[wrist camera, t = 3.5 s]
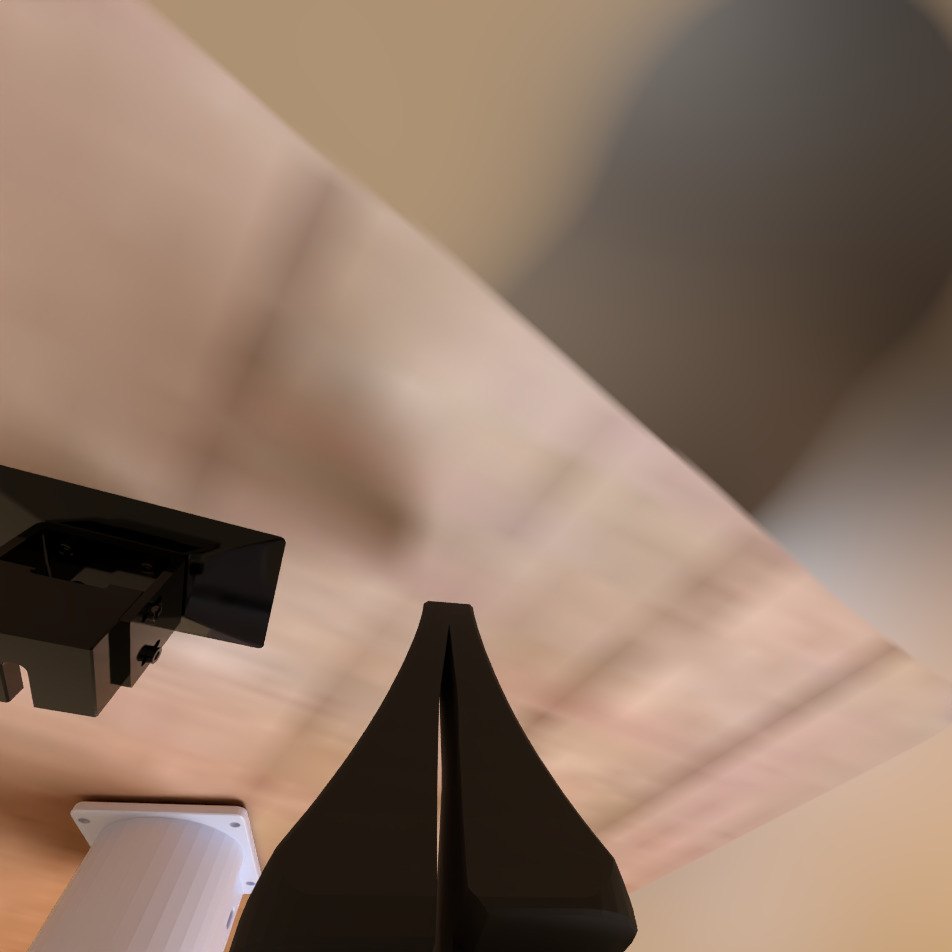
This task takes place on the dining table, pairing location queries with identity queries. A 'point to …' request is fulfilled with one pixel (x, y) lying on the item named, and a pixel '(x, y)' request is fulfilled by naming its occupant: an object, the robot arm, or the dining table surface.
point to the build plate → (116, 587)
